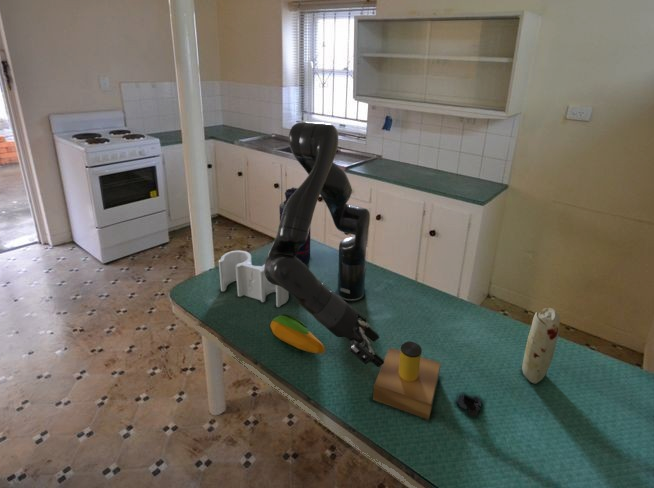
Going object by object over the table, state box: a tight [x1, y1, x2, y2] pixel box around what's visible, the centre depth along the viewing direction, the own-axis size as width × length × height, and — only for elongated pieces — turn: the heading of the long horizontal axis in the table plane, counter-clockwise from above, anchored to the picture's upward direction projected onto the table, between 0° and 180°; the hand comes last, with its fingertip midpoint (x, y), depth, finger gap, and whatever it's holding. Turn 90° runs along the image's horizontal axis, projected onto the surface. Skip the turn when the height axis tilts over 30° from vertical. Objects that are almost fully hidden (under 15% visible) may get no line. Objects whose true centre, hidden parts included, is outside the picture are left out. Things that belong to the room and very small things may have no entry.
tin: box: [399, 341, 422, 381], centre depth 101 cm, size 5×5×8 cm
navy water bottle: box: [278, 186, 311, 265], centre depth 158 cm, size 14×12×30 cm
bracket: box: [218, 249, 290, 308], centre depth 140 cm, size 25×10×12 cm, turn 67°
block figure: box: [456, 394, 482, 418], centre depth 100 cm, size 6×2×6 cm
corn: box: [269, 314, 326, 354], centre depth 117 cm, size 7×8×20 cm
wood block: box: [372, 346, 442, 420], centre depth 104 cm, size 14×14×5 cm
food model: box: [521, 307, 561, 384], centre depth 107 cm, size 10×7×20 cm
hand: (378, 350), depth 100 cm, fingers open, 8 cm apart
